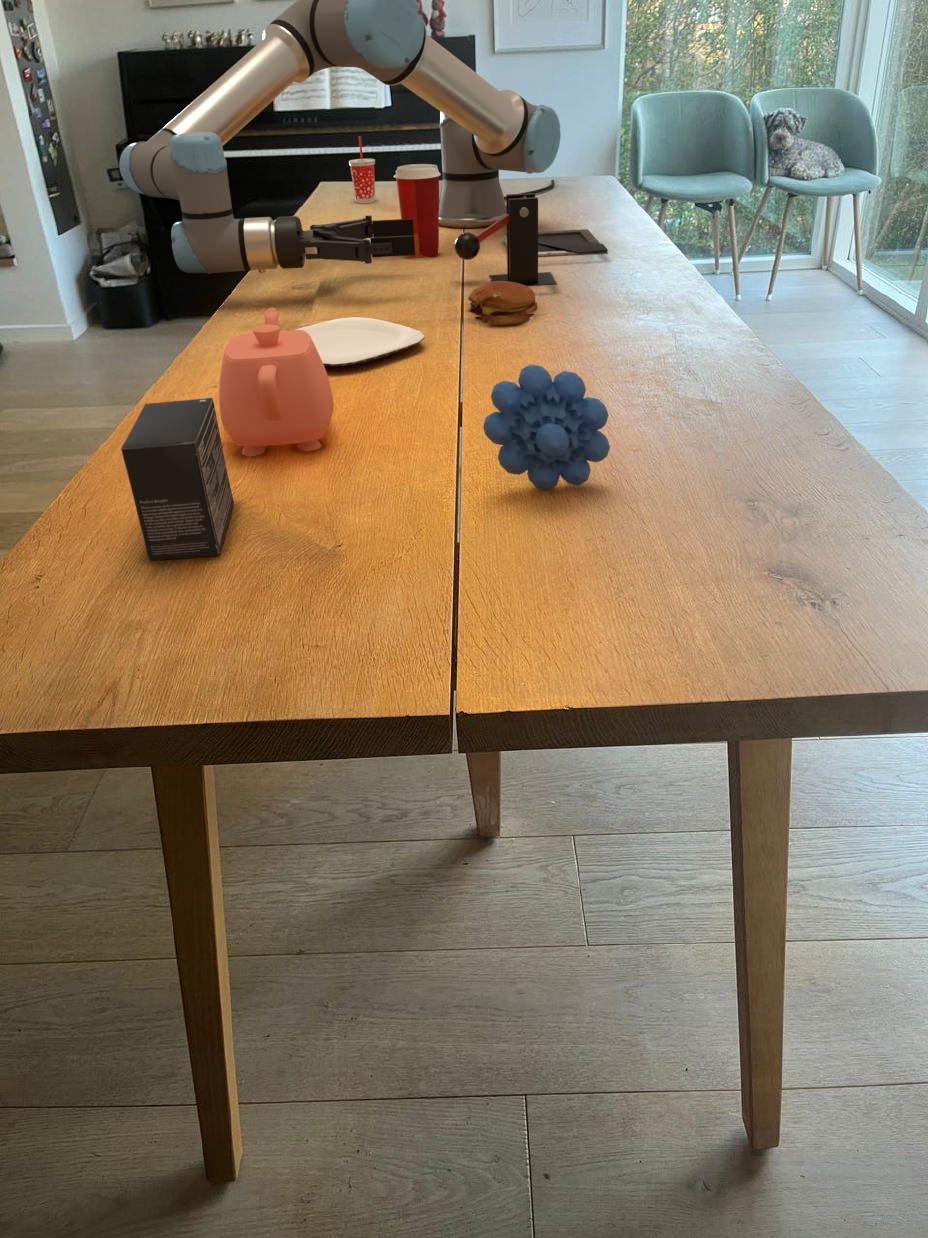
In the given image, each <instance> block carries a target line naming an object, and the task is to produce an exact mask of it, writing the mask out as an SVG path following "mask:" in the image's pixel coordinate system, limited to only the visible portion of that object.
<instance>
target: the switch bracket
mask: <svg viewBox="0 0 928 1238" xmlns="http://www.w3.org/2000/svg"><path fill="white" fill-rule="evenodd" d="M505 196H506V200H505V204H506V215H507V214H508V213H509V223H508V224H506V233H507V246H506V273H503V274H489V275H488V277H489V279H490V282H494V281H508V282H515V283H520V284H523V285H526V286H527V287H538V286H539V287H540V286H557V285H558V283H557V281H556V280H555V278H554V276H553V274H552V272H551V271H544V272H539V257H538V254H539V252H538V232H539V197H536V194H535V193H526V194H519V193H508V194H506V195H505ZM524 196H526V198H522V197H524Z"/></svg>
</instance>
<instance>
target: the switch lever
mask: <svg viewBox="0 0 928 1238" xmlns="http://www.w3.org/2000/svg"><path fill="white" fill-rule="evenodd" d="M522 198H526V196H524V197H522ZM508 223H509V213H508V214H507V215H505V216H504V217H502V218H501V219H499V220H498V221H497V222H495V223H494V224H492V225H491V226H487V227H486V228H484V229H483V230H482V231H481V232H479V233H478V234H474V233H473V232H472V233H471V232H462V233H460V234H459V235H458V236H457V238H456V239H455V241H454V246H453V247H454V252H455V253H456V256H458V257H459V258H460V259H461V260H464V261H471V260H473V259H475V258H476V257H477V256H478V255H479V253H480V250H481V243H482V242H483V241H484V240H486V239H487V238H489V237H490V236H492V235H493V234H494V233H496V232H498V231H499V230H500V229H503V227H505V226H507V224H508Z"/></svg>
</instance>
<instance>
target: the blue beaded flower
mask: <svg viewBox="0 0 928 1238" xmlns="http://www.w3.org/2000/svg"><path fill="white" fill-rule="evenodd" d="M517 381H518V384H517V383H516V382H513V381H509V380H502V381H500V382H498V383H497V384H495V385H493V387H492V391H491V395H490V399H491V402H492V405H493V406H494V407H495V409H497V410H498V411H493V412H492V413H489V414H488V415H487V416H486V417H485V419H484V422H483V427H482V428H483V429H482V430H483V432H484V435H485V436H486V438H487V439H488V440H490V441H491V442H492V444H494V445H498V446H500V447H499V451H498V454H497V459H498V463H499V466H501V468H502V469H504V471H505V472H507V473H508V474H512V475H517V476H518V475H522V474H524V473H525V472H526V475H527V478H528V481H529V482H530V483H531V484H532V485H533V486H534V487H535V488H536V489H539V490H542V491H549V490H552V489H554V488H556V486H558V483H559V480H560V477H561V478H562V480H563V481H565V482H566V483H567V484H569V485H573V486H580V485H583V484H585V483H586V482H587V481H588V480H589V478H590V474H591V471H592V469H591V466H590V463H589V462H592V463H599V462H601V461H603V460H605V459H606V458H607V457H608V454H609V452H610V449H611V445H610V443H609V440H608V438H607V437H606V435H605V434H604V433H603V432H602V431H600V430H601V429H603V428H604V427H605V426H606V424H607V421H608V419H609V412H608V409H607V407H606V404H605V403H603V402H602V401H601V400H600V399H599V398H595V397H590V396H586V397H585V394H586V391H587V389H586V384H585V381H584V380H583V379H582V377H581V376H579V375H578V373H576V372H572V371H567V370H563V371H561V372H559V373H557V374H556V375H555V376H554V378H552V376H551V374H550V372H549V371H548V370H547V369H546V368H545V367H544V366H542V365H539V364H538V365H537V364H532V363H531V364H530V363H529V364H528V365H527V366H525V367H523V368H522V369H521V370H520V373H519V376H518V380H517Z"/></svg>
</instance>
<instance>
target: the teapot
mask: <svg viewBox="0 0 928 1238" xmlns="http://www.w3.org/2000/svg"><path fill="white" fill-rule="evenodd" d="M325 367H326V366H324V364H323V362H322V360H321V358H320V355H319V353H318V351H317V349H316V347H315V345H314V343H313V341H312V339H311V337H310V335H309V334H308V333H307V332H305V331H303V330H296V329H283V330H281V327H280V321H279V314H278V310H277V308H275V307H269V308H267V309H266V311H265V314H264V324H261V325H257V326H255V327H253V328H252V332H248V333H247V332H246V333H240V334H236V335H233V336H232V337H231V338H229V341H228V342H227V343H226V345H225V348H224V351H223V356H222V362H221V367H220V375H219V380H218V381H219V383H218V404H219V405H218V407H219V414H220V420H221V423H222V425H223V428H224V430H225V431H226V433H227V435H228V436H229V438H230V439H231V441H232V442H233V443H234V444H235V445H236V446H239V447H243V448H242V451H241V454H242V455H243V456H248V457H254V456H259V455H263V454H264V453H265V451H266V446H267V447H268V446H279V445H290V444H296V446H297V448H298V450H300V451H303V452H311V451H316V450H318V449H320V448H321V447H322V445H321V443H320V441H319V440H320V439H321V438H323V437H324V436H325V434H326V433H327V431H328V428H329V426H330V424H331V421H332V417H333V414H334V409H335V408H334V407H335V404H334V396H333V391H332V386H331V382H330V379H329V376H328V372H327V369H326V368H325Z"/></svg>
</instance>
